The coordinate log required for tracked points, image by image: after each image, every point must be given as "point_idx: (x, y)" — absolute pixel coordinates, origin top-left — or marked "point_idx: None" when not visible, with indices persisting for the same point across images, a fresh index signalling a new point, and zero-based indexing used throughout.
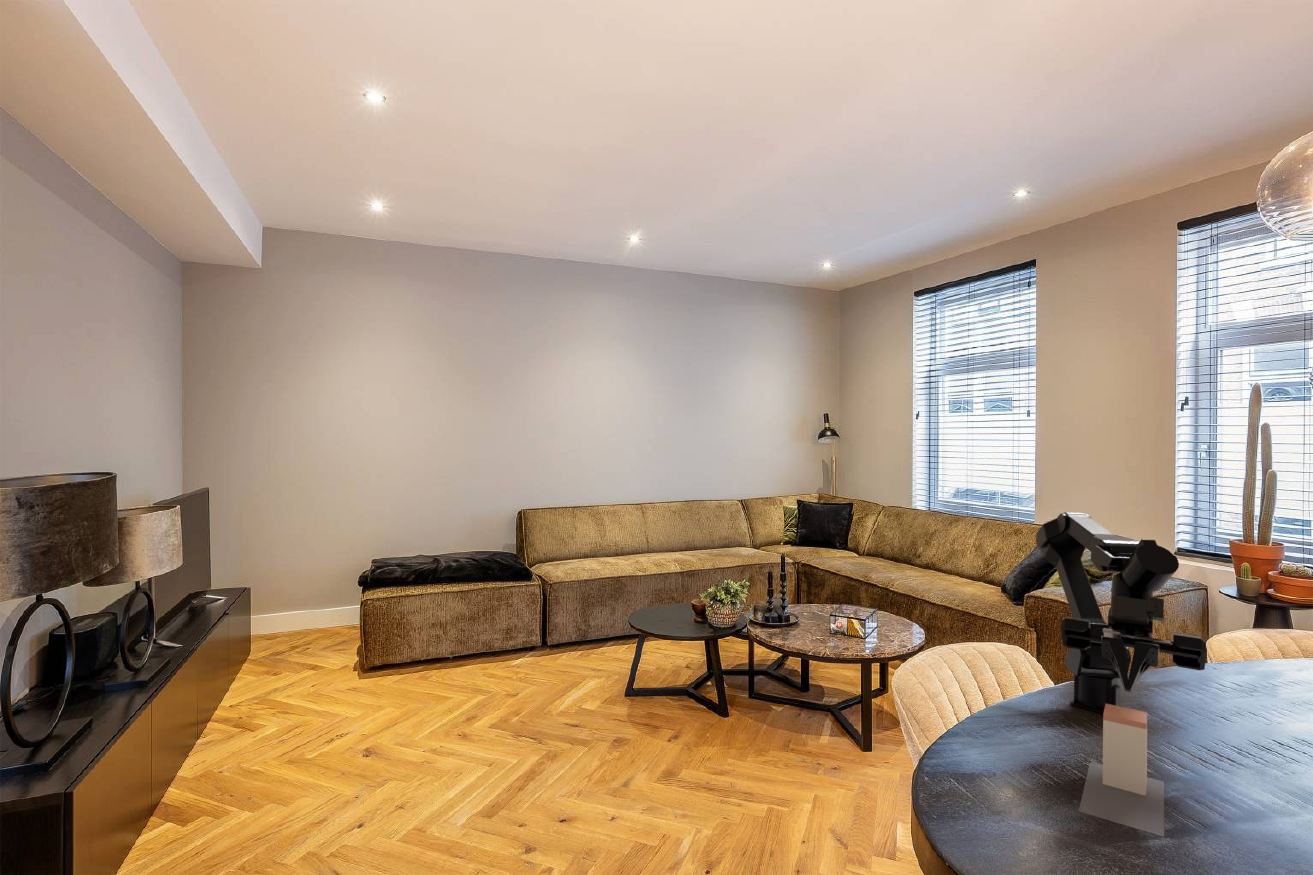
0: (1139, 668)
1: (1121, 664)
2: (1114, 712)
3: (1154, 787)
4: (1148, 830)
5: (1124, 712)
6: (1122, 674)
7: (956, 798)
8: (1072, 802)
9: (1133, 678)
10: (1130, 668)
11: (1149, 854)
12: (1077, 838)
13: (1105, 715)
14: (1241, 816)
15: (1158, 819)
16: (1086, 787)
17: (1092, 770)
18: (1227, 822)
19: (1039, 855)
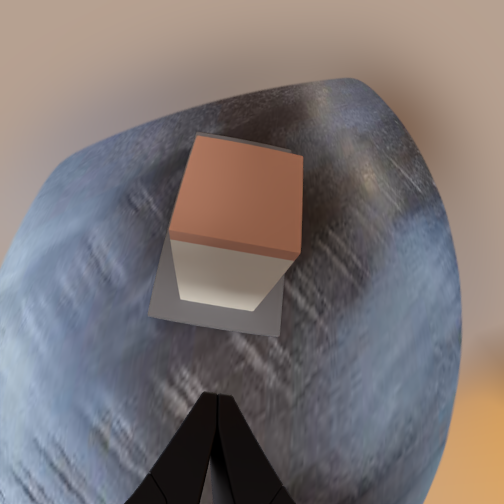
0: (145, 479)
1: (264, 495)
2: (274, 180)
3: (171, 277)
4: (212, 137)
5: (246, 191)
6: (249, 444)
7: (399, 152)
8: None
9: (188, 428)
10: (204, 476)
11: (218, 113)
12: (287, 116)
13: (296, 158)
14: (61, 256)
15: None
16: None
17: (275, 296)
18: (90, 225)
19: (313, 90)
